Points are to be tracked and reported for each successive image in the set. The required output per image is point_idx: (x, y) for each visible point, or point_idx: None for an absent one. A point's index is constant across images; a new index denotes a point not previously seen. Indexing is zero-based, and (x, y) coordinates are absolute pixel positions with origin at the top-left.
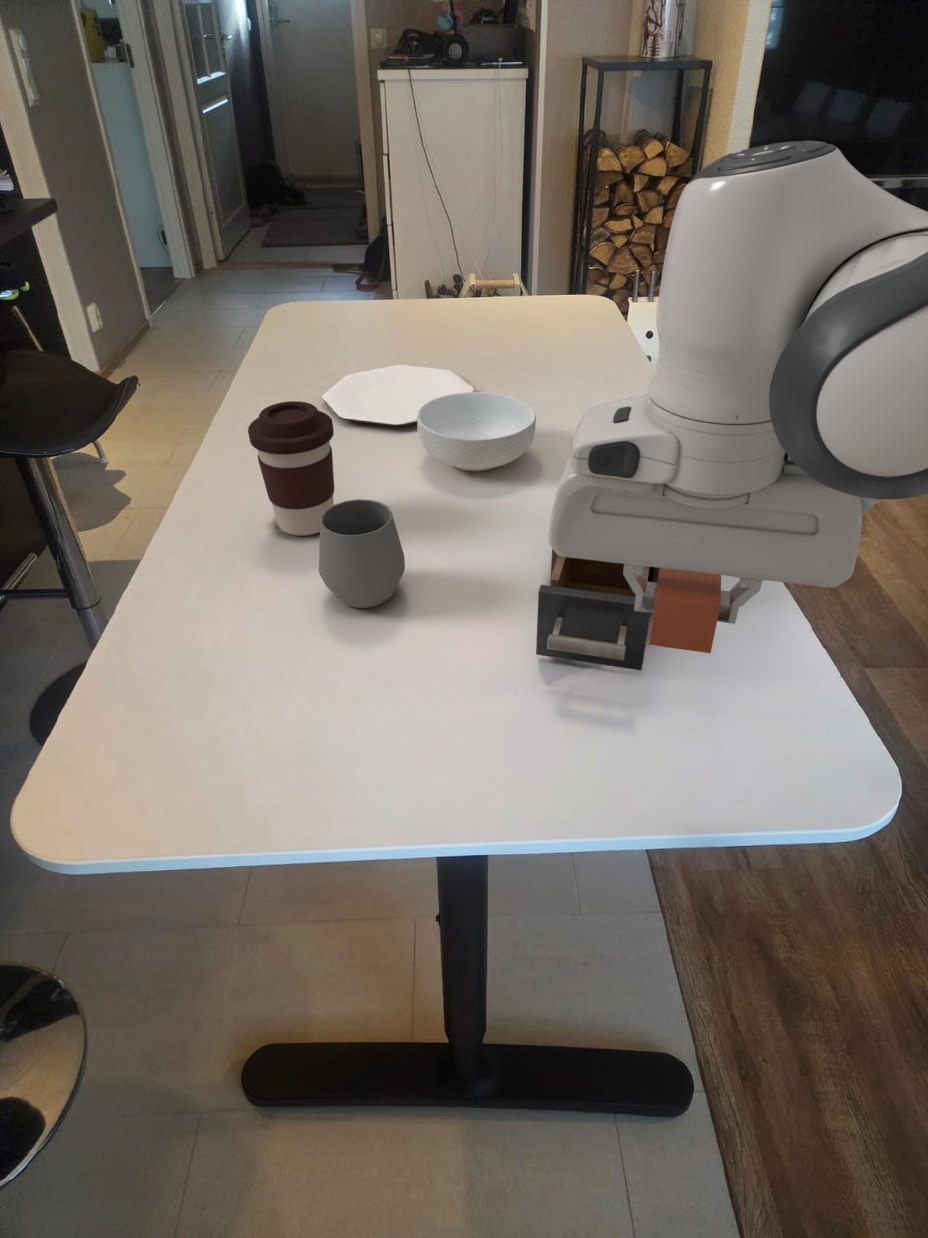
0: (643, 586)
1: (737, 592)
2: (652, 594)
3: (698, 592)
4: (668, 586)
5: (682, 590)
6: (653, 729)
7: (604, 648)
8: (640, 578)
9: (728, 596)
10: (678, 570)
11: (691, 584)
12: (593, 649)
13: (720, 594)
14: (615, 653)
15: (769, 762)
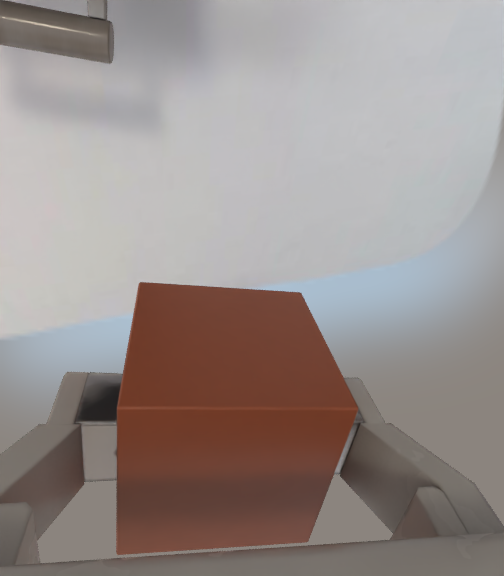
0: (69, 485)
1: (374, 483)
2: (109, 474)
3: (253, 517)
4: (156, 512)
5: (203, 517)
6: (191, 122)
7: (56, 48)
8: (46, 498)
9: (348, 443)
10: (195, 433)
11: (236, 491)
12: (29, 48)
13: (320, 508)
14: (87, 59)
15: (351, 174)
